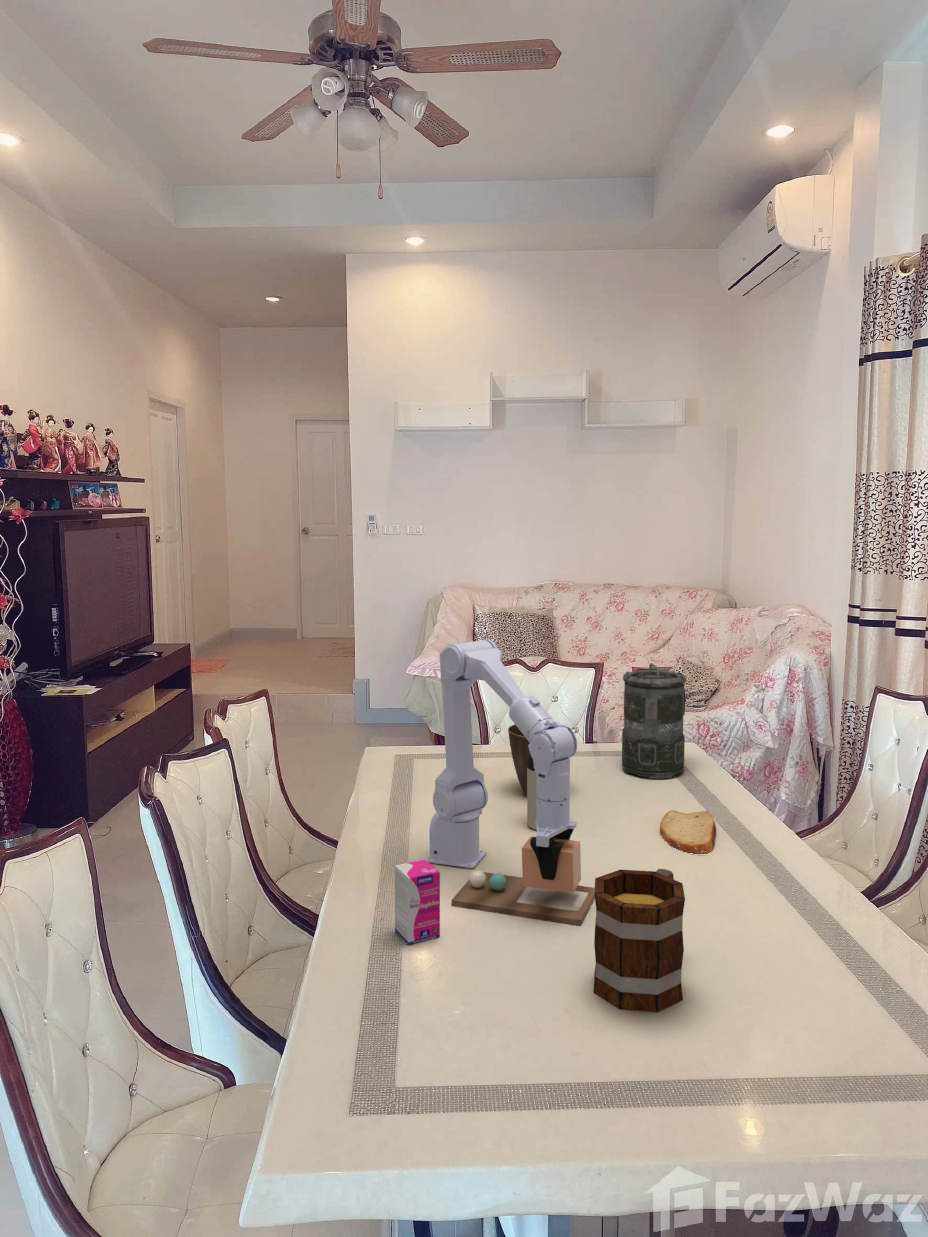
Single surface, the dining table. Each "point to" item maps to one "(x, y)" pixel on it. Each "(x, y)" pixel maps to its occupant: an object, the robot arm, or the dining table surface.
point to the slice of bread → (689, 831)
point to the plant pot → (519, 755)
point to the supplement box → (417, 901)
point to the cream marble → (477, 879)
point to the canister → (653, 723)
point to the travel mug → (531, 793)
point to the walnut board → (528, 900)
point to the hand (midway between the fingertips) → (552, 871)
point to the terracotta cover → (566, 868)
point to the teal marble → (497, 882)
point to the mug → (639, 939)
